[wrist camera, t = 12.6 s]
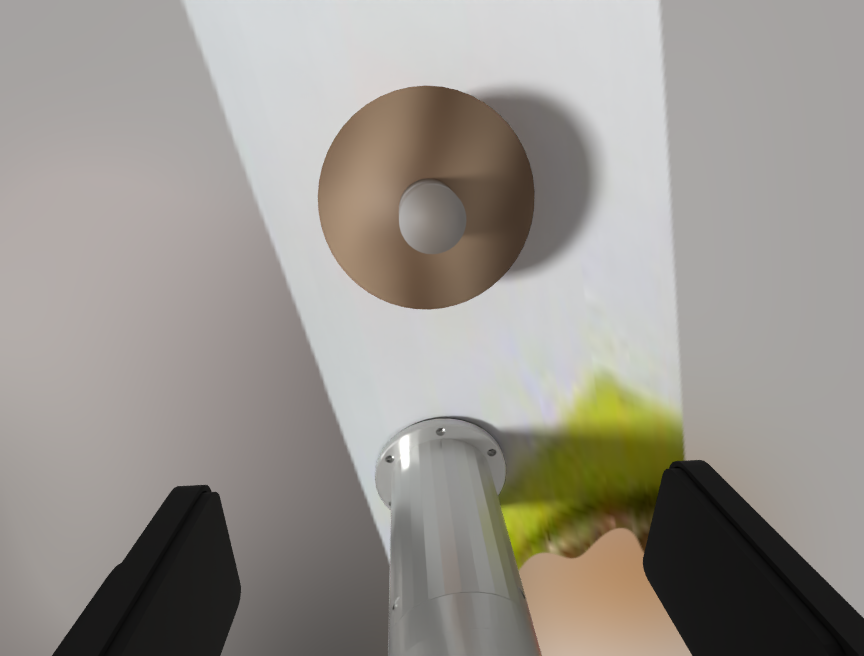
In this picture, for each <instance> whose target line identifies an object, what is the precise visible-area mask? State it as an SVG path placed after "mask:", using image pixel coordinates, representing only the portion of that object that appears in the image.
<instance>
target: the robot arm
mask: <svg viewBox="0 0 864 656" xmlns="http://www.w3.org/2000/svg"><path fill="white" fill-rule="evenodd" d="M505 478H506V463H505V460H504V456H503V453H502V451H501V449H500V446H499V444H498V443H497V442H496V441H495V439H494V438H493V437H492V436H491V435H490V434H489V433H487V432H486V431H485V430H484V429H482V428H480V427H478V426H476V425H474V424H472V423H469V422H466V421H463V420H456V419H433V420H427V421H423V422H420V423H417V424H414V425H411V426H409V427H408V428H406V429H404V430H402V431H400V432H399V433H398V434H397V435H395V436H394V437H393V438H391V439H390V441H389V442H388V443H387V444H386V445H385V447H384V448H383V450H382V451H381V453H380V455H379V457H378V461H377V464H376V472H375V483H376V489H377V492H378V494H379V497H380V498H381V500H382V501H383V503H384V504H385V505H386V506H387V507H388V508H389V509H390V510H391V537H390V590H389V643H388V656H542V655H541V651H540V648H539V644H538V640H537V637H536V633H535V630H534V626H533V622H532V618H531V615H530V612H529V608H528V604H527V601H526V597H525V593H524V589H523V586H522V582H521V578H520V575H519V571H518V568H517V564H516V560H515V557H514V553H513V549H512V546H511V542H510V539H509V535H508V531H507V528H506V524H505V520H504V517H503V513H502V509H501V506H500V502H499V499H498V495H499V494H500V492H501V490H502V488H503V485H504V483H505ZM643 567H644V572H645V574H646V577H647V579H648V581H649V582H650V584H651V586H652V587H653V589H654V591H655V592H656V594H657V596H658V598H659V599H660V601H661V603H662V604H663V606H664V608H665V609H666V611H667V613H668V615H669V617H670V618H671V620H672V622H673V623H674V625H675V626H676V628H677V630H678V632H679V634H680V635H681V637H682V639H683V640H684V642H685V644H686V646H687V647H688V649H689V651H690V652H691V654H692V656H864V618H863V617H862V616H861V615H860V614H859V613H857V611H856V610H854V608H853V607H852V606H851V605H850V604H849V603H848V602H847V601H845V599H844V598H843V597H842V596H841V595H840V594H839V593H837V591H836V590H834V588H833V587H831V585H829V583H828V582H826V580H825V579H824V578H823V577H821V576H820V574H819V573H818V572H816V570H814V569H813V568H812V567H811V566H810V565H809V564H808V563H807V562H806V561H805V560H804V559H803V558H802V557H801V556H800V555H799V554H798V553H797V552H796V551H795V550H794V549H793V548H792V547H791V546H790V545H789V544H788V543H787V542H786V541H785V540H784V539H783V538H782V537H781V536H780V535H779V534H778V533H777V532H776V531H775V530H774V529H773V528H772V527H771V526H770V525H769V524H768V523H767V522H766V521H765V520H764V519H763V518H762V517H761V516H760V515H759V514H758V513H757V512H756V511H755V510H754V509H753V508H752V507H751V506H750V505H749V504H748V503H747V502H746V501H745V500H744V499H743V498H742V497H741V496H740V495H739V494H738V493H737V492H736V491H735V490H734V489H733V488H732V487H731V486H730V485H729V484H728V483H727V482H726V481H725V480H724V479H723V478H722V477H721V476H720V475H719V474H718V473H717V472H716V471H715V470H714V469H713V468H712V467H711V466H710V465H709V464H708V463H706V462H705V461H702V460H691V461H675V462H673V463H672V464H671V465H670V467H669V469H666V470H665V471H664V473H663V476H662V480H661V484H660V489H659V493H658V497H657V501H656V506H655V510H654V514H653V518H652V523H651V527H650V531H649V536H648V540H647V544H646V548H645V553H644V557H643ZM240 593H241V585H240V580H239V576H238V572H237V568H236V563H235V559H234V555H233V551H232V547H231V542H230V539H229V534H228V530H227V525H226V521H225V517H224V513H223V508H222V504H221V500H220V496H219V494H218V493H217V492H211V489H210V488H209V486H208V485H195V486H177V487H175V488H174V489H173V490H172V491H171V493H170V494H169V495H168V497H167V498H166V500H165V501H164V502H163V504H162V505H161V507H160V508H159V510H158V511H157V512H156V514H155V515H154V517H153V518H152V520H151V521H150V523H149V524H148V525H147V527H146V528H145V530H144V531H143V533H142V534H141V536H140V537H139V539H138V540H137V542H136V543H135V544H134V546H133V547H132V549H131V550H130V552H129V553H128V554H127V556H126V558H125V559H124V560H123V562H122V563H120V564H119V565H117V566H116V567H115V568H114V569H113V570H112V572H111V573H110V574H109V575H108V577H107V578H106V579H105V581H104V582H103V584H102V585H101V587H100V588H99V589H98V591H97V592H96V594H95V595H94V597H93V598H92V599H91V601H90V602H89V604H88V605H87V606H86V608H85V609H84V611H83V612H82V614H81V615H80V616H79V618H78V619H77V621H76V622H75V624H74V625H73V626H72V628H71V629H70V631H69V632H68V634H67V635H66V636H65V638H64V639H63V641H62V642H61V644H60V645H59V646H58V648H57V649H56V651H55V652H54V653H53V655H52V656H220V655H221V652H222V649H223V646H224V644H225V641H226V638H227V636H228V633H229V630H230V627H231V624H232V622H233V619H234V616H235V613H236V611H237V608H238V605H239V601H240Z"/></svg>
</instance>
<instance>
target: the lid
mask: <svg viewBox="0 0 864 656" xmlns="http://www.w3.org/2000/svg"><path fill="white" fill-rule="evenodd" d="M318 208H319V216H320V221H321V227H322V230H323V233H324V236H325V239H326V242H327V244H328V246H329V248H330V250H331V252H332V254H333V256H334V257H335V259H336V260H337V262H338V264H339V265H340V266H341V267H342V269H343V270H344V271H345V272H346V274H347V275H348V276H349V277H350V278H351V279H352V280H353V281H354V282H356V283H357V284H358V285H359V286H360V287H362V288H363V289H364V290H366V291H367V292H368V293H370V294H372V295H374V296H376V297H377V298H379V299H381V300H384V301H386V302H389V303H391V304H394V305H398V306H402V307H406V308H413V309H438V308H445V307H449V306H454V305H457V304H460V303H463V302H465V301H468V300H470V299H472V298H474V297H476V296H478V295H480V294H481V293H483V292H484V291H486V290H487V289H489V288H490V287H491V286H492V285H494V284H495V283H496V282H497V281H498V280H499V279H500V278H501V277H502V276H503V275H504V274H505V273H506V272H507V271H508V270H509V268H510V267H511V266H512V264H513V263H514V262H515V260H516V259H517V257H518V255H519V253H520V252H521V250H522V248H523V246H524V244H525V241H526V239H527V236H528V234H529V230H530V226H531V223H532V218H533V211H534V184H533V176H532V172H531V168H530V164H529V161H528V158H527V155H526V153H525V150H524V148H523V146H522V144H521V143H520V141H519V139H518V137H517V135H516V134H515V133H514V131H513V130H512V129H511V127H510V126H509V125H508V123H507V122H506V121H505V120H504V119H503V118H502V117H501V116H500V115H499V114H498V113H497V112H496V111H494V110H493V109H492V108H490V107H489V106H488V105H486V104H485V103H484V102H482V101H480V100H478V99H476V98H475V97H473V96H471V95H468V94H466V93H463V92H460V91H458V90H454V89H449V88H445V87H437V86H417V87H408V88H404V89H400V90H396V91H393V92H390V93H388V94H385V95H383V96H380V97H379V98H377V99H375V100H374V101H372V102H370V103H368V104H367V105H365V106H364V107H363V108H362V109H360V110H359V111H358V112H357V113H355V114H354V115H353V116H352V117H351V118H350V119H349V121H348V122H347V123H346V124H345V125H344V126H343V127H342V129H341V130H340V132H339V133H338V134H337V136H336V137H335V139H334V141H333V142H332V144H331V146H330V148H329V150H328V152H327V155H326V158H325V161H324V163H323V166H322V170H321V175H320V180H319V189H318Z"/></svg>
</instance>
